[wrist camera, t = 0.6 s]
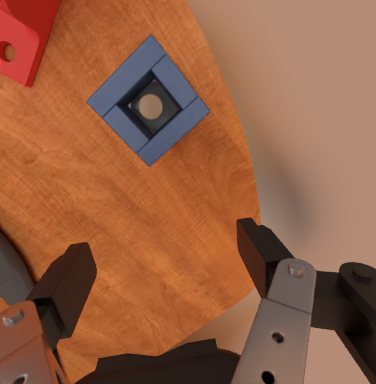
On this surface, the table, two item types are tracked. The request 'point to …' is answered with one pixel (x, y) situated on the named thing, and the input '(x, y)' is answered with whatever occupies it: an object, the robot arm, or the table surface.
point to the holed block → (132, 86)
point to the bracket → (25, 35)
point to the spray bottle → (13, 274)
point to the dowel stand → (153, 106)
